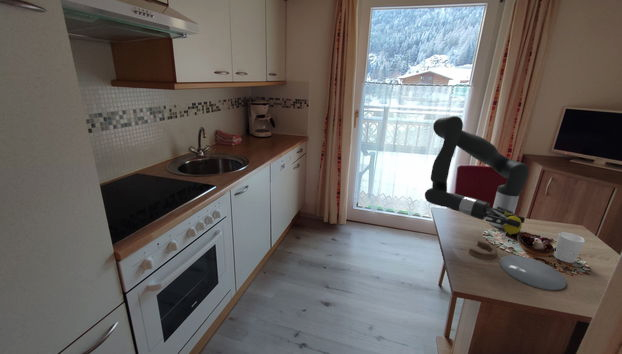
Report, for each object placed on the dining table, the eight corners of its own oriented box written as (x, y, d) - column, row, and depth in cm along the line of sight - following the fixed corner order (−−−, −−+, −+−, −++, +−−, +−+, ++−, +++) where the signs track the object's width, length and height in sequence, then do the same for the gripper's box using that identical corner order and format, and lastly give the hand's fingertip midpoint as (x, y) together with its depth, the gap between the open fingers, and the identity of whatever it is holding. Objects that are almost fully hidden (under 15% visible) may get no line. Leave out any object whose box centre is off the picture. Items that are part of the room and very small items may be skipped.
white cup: (551, 250, 121) (558, 230, 118) (576, 258, 117) (584, 236, 114) (551, 258, 116) (559, 237, 113) (577, 266, 111) (586, 244, 108)
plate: (507, 251, 119) (507, 249, 119) (569, 274, 106) (570, 272, 105) (492, 269, 106) (493, 267, 106) (561, 298, 92) (562, 296, 92)
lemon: (502, 235, 108) (507, 216, 106) (500, 229, 113) (506, 211, 110) (519, 239, 106) (525, 220, 103) (517, 233, 110) (523, 214, 108)
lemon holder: (478, 243, 124) (479, 239, 124) (498, 251, 119) (500, 247, 118) (468, 252, 117) (469, 248, 116) (490, 261, 111) (491, 257, 111)
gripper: (469, 203, 112) (519, 218, 100) (482, 195, 121) (529, 209, 109) (465, 220, 114) (514, 237, 102) (478, 211, 123) (524, 226, 111)
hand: (521, 222), depth 106 cm, fingers closed on lemon, 5 cm apart
